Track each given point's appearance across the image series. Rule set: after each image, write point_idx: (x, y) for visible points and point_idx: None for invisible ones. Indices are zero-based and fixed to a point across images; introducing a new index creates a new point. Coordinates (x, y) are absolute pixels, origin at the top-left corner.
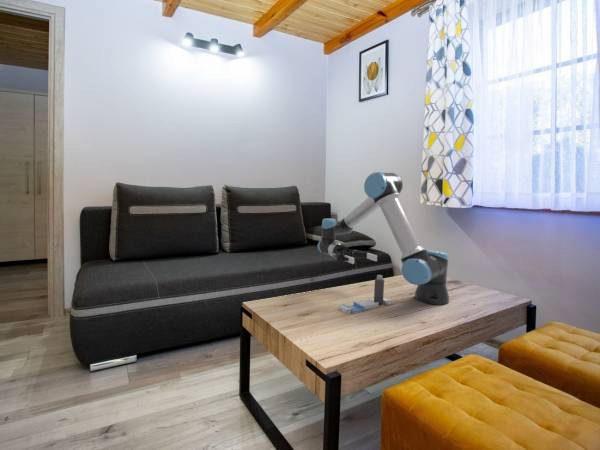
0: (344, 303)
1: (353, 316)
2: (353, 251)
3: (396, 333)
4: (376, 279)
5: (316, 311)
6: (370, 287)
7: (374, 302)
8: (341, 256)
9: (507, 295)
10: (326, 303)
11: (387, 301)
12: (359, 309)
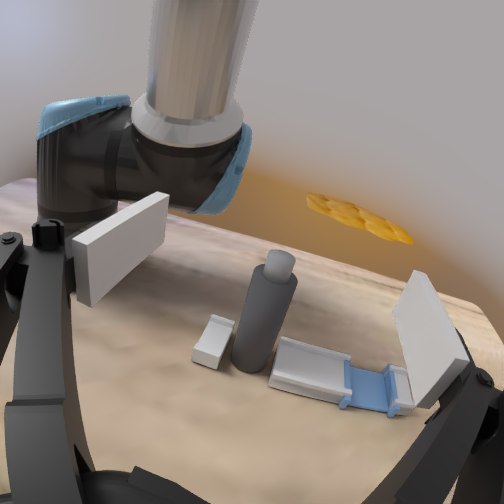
0: (396, 400)
1: (392, 362)
2: (73, 443)
3: (356, 281)
4: (281, 285)
5: None
6: None
7: (279, 353)
8: (486, 393)
9: (5, 187)
10: None
11: (233, 325)
12: (354, 371)
